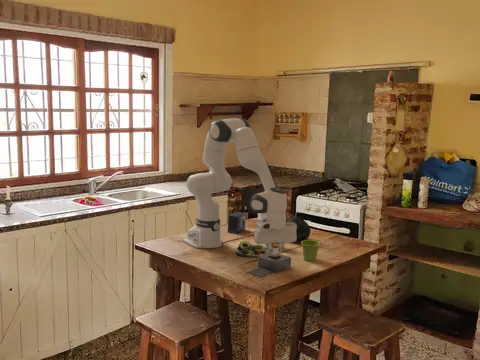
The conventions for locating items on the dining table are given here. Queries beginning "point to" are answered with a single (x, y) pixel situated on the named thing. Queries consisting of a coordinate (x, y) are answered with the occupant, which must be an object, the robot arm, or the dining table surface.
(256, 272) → the mat
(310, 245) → the plant pot
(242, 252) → the salad plate
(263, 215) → the jar
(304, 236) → the squash
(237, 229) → the small box
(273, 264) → the grey square block
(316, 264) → the dining table surface
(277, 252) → the cylindrical container
